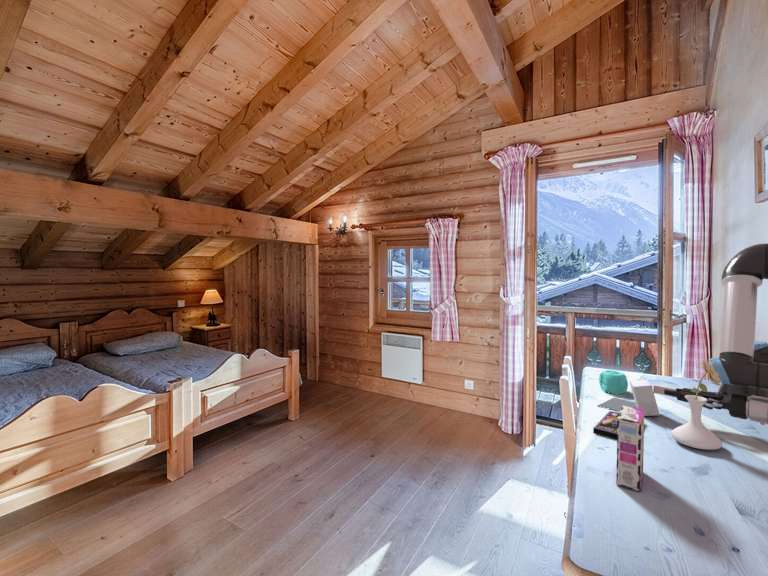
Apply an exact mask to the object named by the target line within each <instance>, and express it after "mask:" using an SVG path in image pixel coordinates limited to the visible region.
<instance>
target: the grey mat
mask: <svg viewBox="0 0 768 576" xmlns="http://www.w3.org/2000/svg"><path fill="white" fill-rule="evenodd" d="M599 406H601V407H600V408H603V407H605V408H604V409H606V408H609V409H608V410H610V409H612V410H611V411H614V410H615V411H614V412H618V411H619V412H618V413H620V410H621V408H622V406H628V407H634V408H637V407H636V404H635V401H631V400H627V399H623V398H618V397H613V398H610V399H608V400H606V401H604V402H602V403H599V404H598V405H597V407H599Z"/></svg>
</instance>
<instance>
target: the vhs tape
mask: <svg viewBox="0 0 768 576" xmlns="http://www.w3.org/2000/svg"><path fill="white" fill-rule="evenodd" d="M619 413H620V412H618V411H614V410H609V411H608V412H607V413H606V414H605V415H604V416H603V417H602V418H601V419H600V421H598V423H596V424H595V426H594V427H593V428H592V429H593V434H594V433H596V434H595V435H598V434H600V435H599V436H602V435H603V437H606V436H607V437H606V438H609V437H610V438H609V439H614V440H617V418H618V415H619Z"/></svg>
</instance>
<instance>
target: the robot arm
mask: <svg viewBox="0 0 768 576" xmlns="http://www.w3.org/2000/svg"><path fill="white" fill-rule="evenodd" d="M763 280H768V243H757V244H754V245H750V246H748V247H746V248H744V249H742V250H740V251H739V252H737V253H736V254H735V255H733V257H732V258H730V260H729V261H728V262H727V264H726V265H725V267H724V269H723V270H722V275H721V285H723V286H724V293H723V295H724V296H723V308H722V309H723V310H722V318H721V319H722V320H721V330H720V331H721V332H720V342H719V343H720V345H719V355H718V357H712V358H710V360H709V362H708V363H709V365H711V364H712V365H713V367H714V369H715V371H716V372H717V373H718V374H719V376H718V377H719V378H720V380H721V381H722V383H721V382H719V383H720V385H721V386H720V385H719V388H718V390H717V392H716V391H709V390H707V391H706V392H703V391H702V390H701V392H699V393H698V395H697V396H700V397H704V398H706V399H707V401H706V402H705V403H704V405H703V407H702V408H705V409H708V410H713V409H716V410H727V411H728V413H729V415H730V417H732V418H737V419H740V420H747V419H749V420H750V421H751V422H755V423H760V425H762V426H765V425H768V342H767V341H763V340H762V341H761V340H760V341H759V340H756V339H755V338H756V324H757V323H756V322H757V319H756V318H757V303H758V288H759V287H761V286H762V285H763ZM692 389H693V388H686V387H683V388H679V387H677V388H676V387H672V386H666V385H661V384H656V383H655V384H653V392H654V394H658V395H663V396H669V397H672V398H676V400H678V401H680V402H684V403H688V404H689V402H688V400H687V399H686V398H685V396H686V395H695V396H696V393H695V392H691V390H692Z"/></svg>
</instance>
